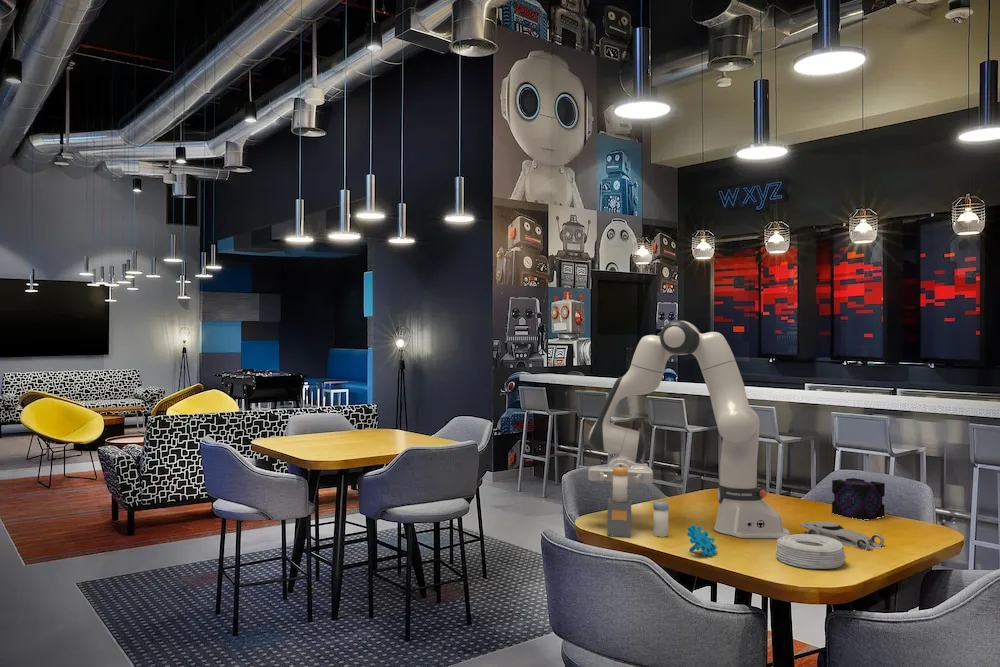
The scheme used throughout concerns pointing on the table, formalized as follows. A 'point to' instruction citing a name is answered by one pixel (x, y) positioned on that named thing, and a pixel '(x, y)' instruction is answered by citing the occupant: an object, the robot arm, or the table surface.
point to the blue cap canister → (660, 518)
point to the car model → (842, 534)
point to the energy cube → (858, 498)
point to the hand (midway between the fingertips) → (620, 478)
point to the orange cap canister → (620, 484)
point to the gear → (701, 540)
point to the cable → (810, 551)
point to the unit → (619, 518)
